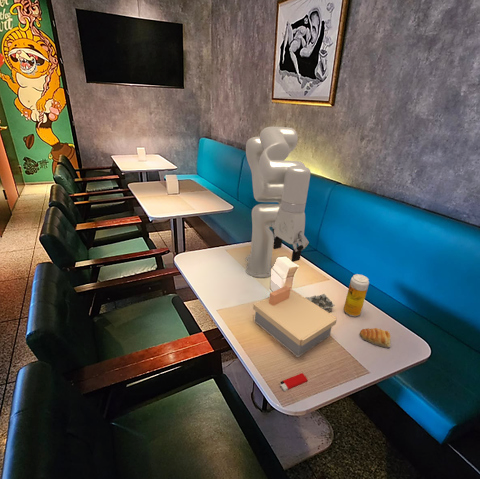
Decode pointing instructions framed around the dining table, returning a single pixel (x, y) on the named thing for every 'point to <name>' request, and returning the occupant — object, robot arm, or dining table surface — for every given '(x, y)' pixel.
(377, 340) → the pastry
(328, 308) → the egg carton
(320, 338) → the box
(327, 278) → the dining table surface
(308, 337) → the lid
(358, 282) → the beer can
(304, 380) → the lighter
